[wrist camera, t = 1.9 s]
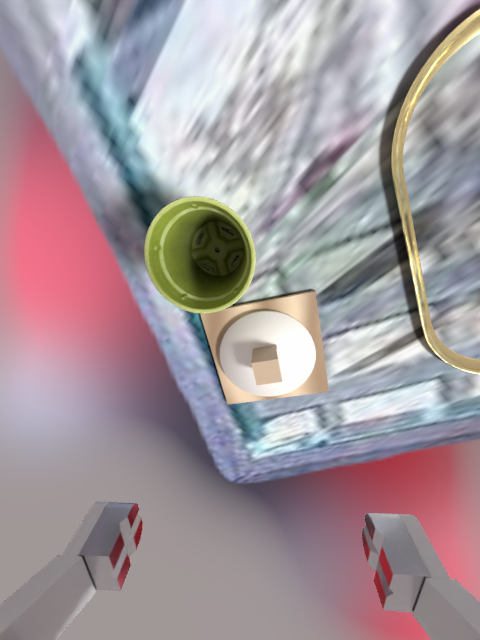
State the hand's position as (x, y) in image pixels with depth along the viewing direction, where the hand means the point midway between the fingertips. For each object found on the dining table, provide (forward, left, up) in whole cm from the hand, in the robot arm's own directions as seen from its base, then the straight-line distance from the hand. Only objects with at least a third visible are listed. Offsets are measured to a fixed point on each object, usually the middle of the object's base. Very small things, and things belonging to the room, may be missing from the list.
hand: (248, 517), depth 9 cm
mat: (0, +6, -24) cm, 24 cm away
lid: (0, +6, -23) cm, 24 cm away
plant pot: (+3, -8, -24) cm, 25 cm away
